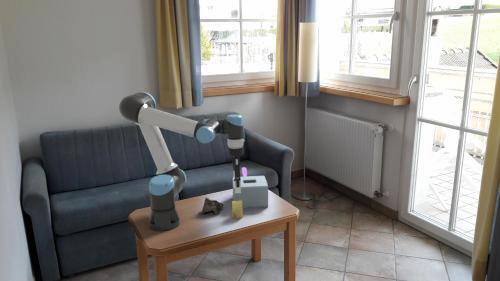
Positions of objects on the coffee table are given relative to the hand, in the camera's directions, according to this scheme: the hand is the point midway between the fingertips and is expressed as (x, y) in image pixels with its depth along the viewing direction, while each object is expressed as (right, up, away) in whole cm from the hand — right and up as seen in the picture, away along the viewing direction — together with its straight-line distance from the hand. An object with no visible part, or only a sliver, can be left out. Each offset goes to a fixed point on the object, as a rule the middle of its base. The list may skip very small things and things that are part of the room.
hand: (237, 188), depth 204 cm
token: (0, -15, +4) cm, 16 cm away
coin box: (+6, -10, +22) cm, 25 cm away
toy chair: (+5, -7, +35) cm, 37 cm away
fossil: (-13, -14, +11) cm, 22 cm away
